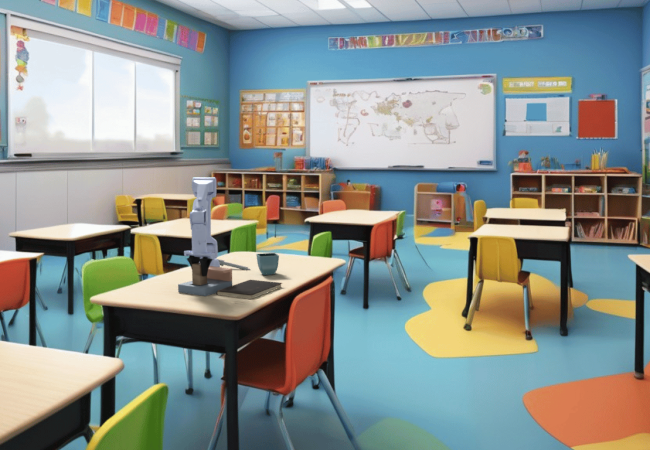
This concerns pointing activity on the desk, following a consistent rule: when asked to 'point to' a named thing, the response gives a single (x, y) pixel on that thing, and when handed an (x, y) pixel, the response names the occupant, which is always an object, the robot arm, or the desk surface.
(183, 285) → the socket block
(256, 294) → the hardcover book
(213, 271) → the salmon pink block
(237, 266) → the caliper
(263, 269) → the flower pot
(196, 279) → the walnut peg
